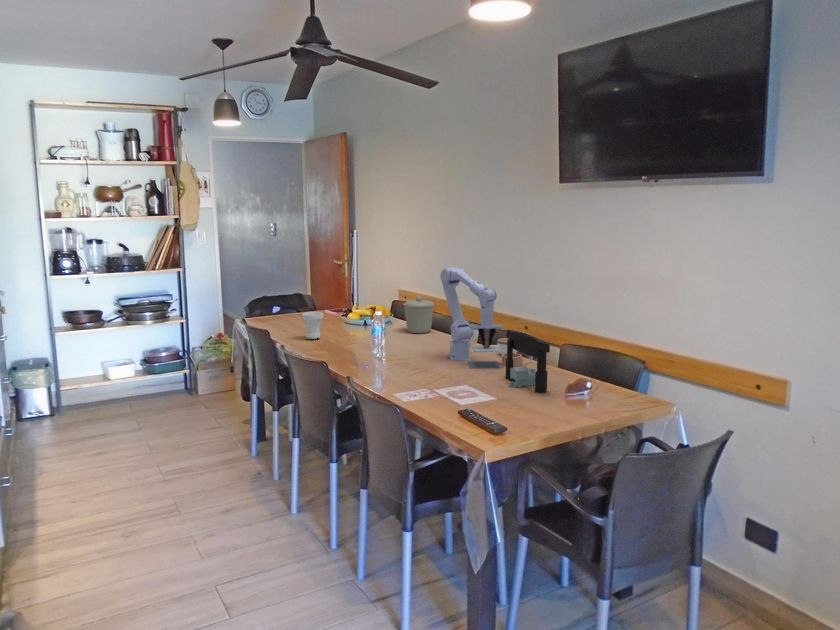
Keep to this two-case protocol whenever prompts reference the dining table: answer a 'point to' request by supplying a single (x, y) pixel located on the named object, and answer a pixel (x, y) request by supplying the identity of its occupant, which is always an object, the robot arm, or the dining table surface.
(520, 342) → the black arch frame
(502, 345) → the lidded jar
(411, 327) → the canister
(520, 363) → the bowl
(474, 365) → the mat
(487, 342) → the lid
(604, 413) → the dining table surface
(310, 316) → the cup
